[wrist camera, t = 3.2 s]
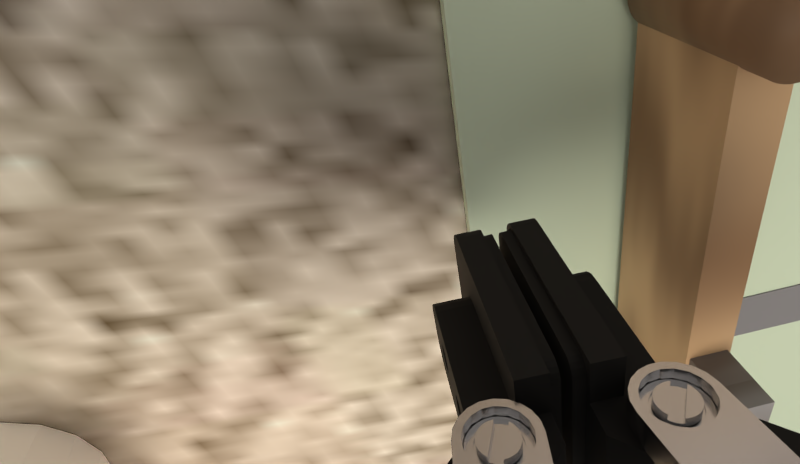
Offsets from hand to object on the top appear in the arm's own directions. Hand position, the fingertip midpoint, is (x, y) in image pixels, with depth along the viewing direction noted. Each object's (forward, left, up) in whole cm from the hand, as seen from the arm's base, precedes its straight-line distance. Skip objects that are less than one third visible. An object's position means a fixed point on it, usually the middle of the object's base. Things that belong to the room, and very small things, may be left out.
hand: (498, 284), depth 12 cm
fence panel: (+2, +5, -4) cm, 7 cm away
